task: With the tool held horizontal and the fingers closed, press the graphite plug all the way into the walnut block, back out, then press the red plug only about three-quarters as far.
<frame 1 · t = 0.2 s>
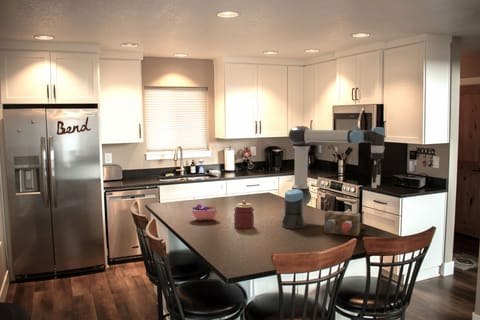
hand: (375, 186, 272), 28 cm above the kitchen island, tool pointing down, fingers open, 13 cm apart
cell model: (204, 220, 301), on the kitchen island
graphite plug: (331, 223, 263), point 7 cm above the kitchen island, slide at 0.0 cm
canister: (244, 227, 281), on the kitchen island
walnut plug block: (342, 232, 268), on the kitchen island
teacup with lid: (350, 227, 281), on the kitchen island
red plug: (348, 224, 259), point 7 cm above the kitchen island, slide at 0.0 cm
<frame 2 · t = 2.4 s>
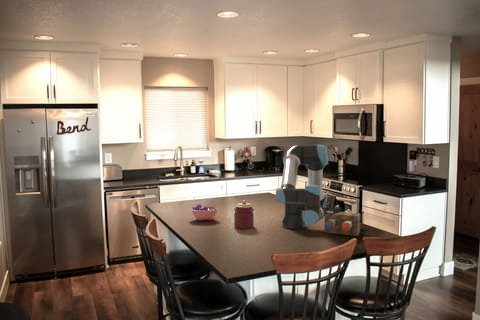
hand: (326, 206, 247), 20 cm above the kitchen island, tool horizontal, fingers open, 13 cm apart
nothing on the kitchen island moved.
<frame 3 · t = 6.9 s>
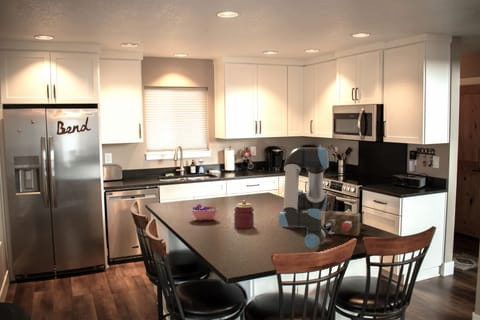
hand: (329, 225, 258), 7 cm above the kitchen island, tool horizontal, fingers closed
graphite plug: (331, 222, 264), point 7 cm above the kitchen island, slide at 1.2 cm, touching gripper
everything else where it was.
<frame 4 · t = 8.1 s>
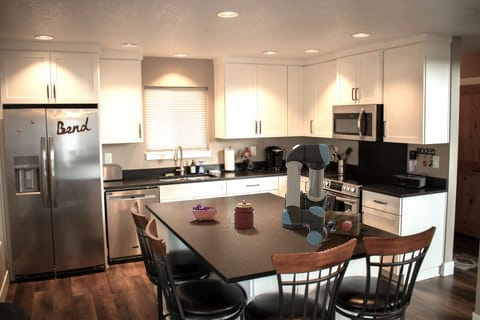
hand: (331, 223, 263), 7 cm above the kitchen island, tool horizontal, fingers closed
graphite plug: (333, 220, 269), point 7 cm above the kitchen island, slide at 6.6 cm, touching gripper
everything else where it was.
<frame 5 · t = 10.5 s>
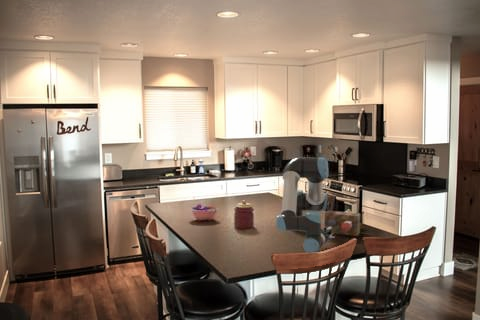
hand: (330, 228, 247), 7 cm above the kitchen island, tool horizontal, fingers closed
graphite plug: (334, 220, 269), point 7 cm above the kitchen island, slide at 6.9 cm
everything else where it was.
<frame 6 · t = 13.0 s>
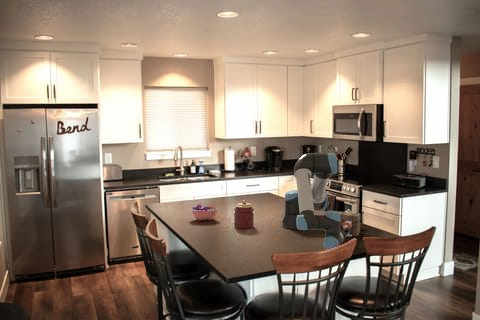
hand: (346, 227, 253), 7 cm above the kitchen island, tool horizontal, fingers closed
red plug: (348, 224, 259), point 7 cm above the kitchen island, slide at 0.4 cm, touching gripper
everything else where it was.
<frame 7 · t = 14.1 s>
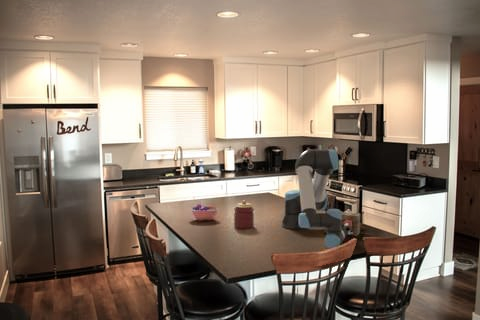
hand: (347, 225, 257), 7 cm above the kitchen island, tool horizontal, fingers closed
red plug: (349, 223, 263), point 7 cm above the kitchen island, slide at 4.7 cm, touching gripper
everything else where it was.
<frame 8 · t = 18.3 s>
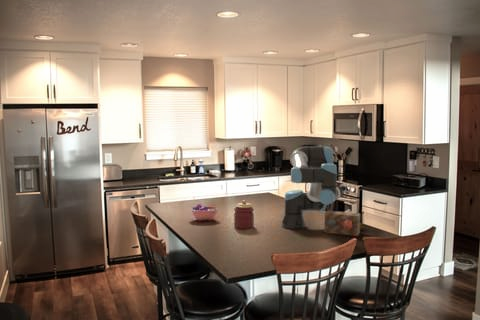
hand: (343, 186, 243), 32 cm above the kitchen island, tool horizontal, fingers closed
red plug: (349, 223, 263), point 7 cm above the kitchen island, slide at 4.8 cm
everything else where it was.
at the end: graphite plug slide at 6.9 cm; red plug slide at 4.8 cm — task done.
